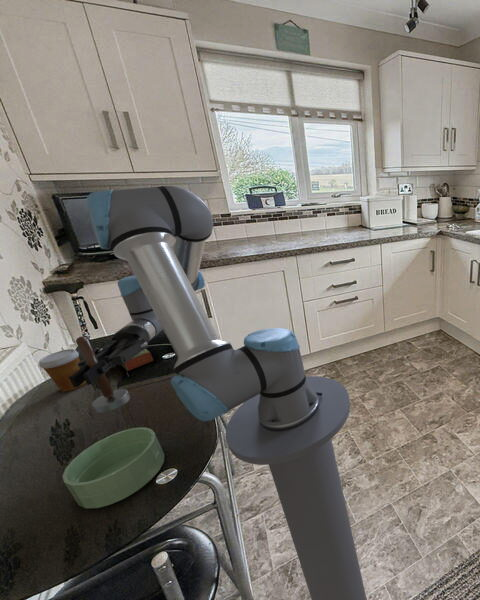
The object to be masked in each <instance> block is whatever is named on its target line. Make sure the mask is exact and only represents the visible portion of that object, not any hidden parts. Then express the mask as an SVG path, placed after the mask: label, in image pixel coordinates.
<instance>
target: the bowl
mask: <svg viewBox="0 0 480 600" xmlns="http://www.w3.org/2000/svg"><path fill="white" fill-rule="evenodd" d="M164 462H165V453H164V450H163V448H162V446H161V444H160V441H159V439H158V437H157V434H156V433H155V432H154V431H153V429H152V428H148V427H145V426H143V427H132V428H128V429H124V430H120V431H118V432H115V433H113V434H110V435H109V436H106V437H104V438H102V439H100V440H98V441H96V442H94V443H93V444H91V445H90V446H89V447H87V448H86V449H84V450H82V451H81V452H80V453H78V455H76V456H75V457H74V458H73V459H72V460H71V461H70V463H68V465H66V467H65V469H64V472H63V474H62V480H63V483H64V484H65V487H66V488H67V489H68V490H69V492H70V494H71V496H72V497H73V500H74V501H75V502H76V503H77V505H78V506H79V507H80V508H83V509H86V510H87V509H88V510H89V509H100V508H104V507H107V506H110V505H113V504H115V503H117V502H120V501H123V500H125V499H126V498H128V497H130V496H132V495H133V494H134V493H136V492H138V491H139V490H141V489H142V488H143V487H144V486H146V485H147V484H148V483H149V482H150V481H151V480H153V478H154V477H155V476H156V475H157V474H158V472H159V471H160V470H161V468H162V466H163V465H164Z"/></svg>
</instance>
